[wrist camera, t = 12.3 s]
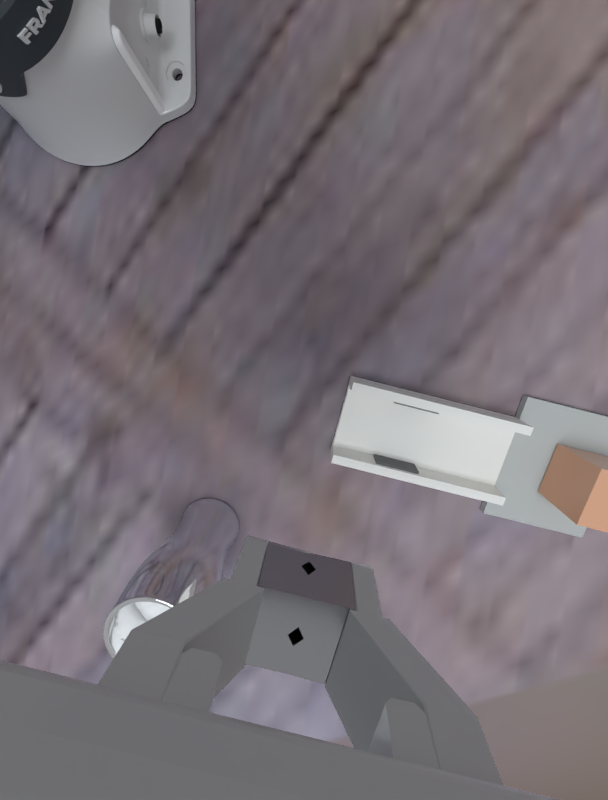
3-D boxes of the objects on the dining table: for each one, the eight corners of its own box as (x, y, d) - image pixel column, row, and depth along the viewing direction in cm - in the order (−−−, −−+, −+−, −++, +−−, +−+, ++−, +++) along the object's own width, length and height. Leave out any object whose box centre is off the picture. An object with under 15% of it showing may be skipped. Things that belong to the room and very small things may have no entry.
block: (557, 443, 37) (601, 468, 31) (609, 456, 37) (663, 484, 31) (537, 491, 38) (576, 524, 32) (588, 504, 38) (636, 539, 32)
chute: (350, 375, 37) (353, 382, 34) (514, 417, 38) (533, 427, 34) (330, 449, 39) (331, 462, 36) (487, 488, 39) (502, 505, 36)
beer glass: (168, 503, 41) (83, 609, 27) (230, 485, 41) (177, 584, 26) (192, 560, 43) (124, 691, 28) (253, 544, 42) (215, 669, 27)
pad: (523, 394, 37) (528, 396, 36) (626, 420, 37) (633, 423, 36) (479, 508, 40) (483, 512, 39) (576, 532, 40) (582, 537, 39)
